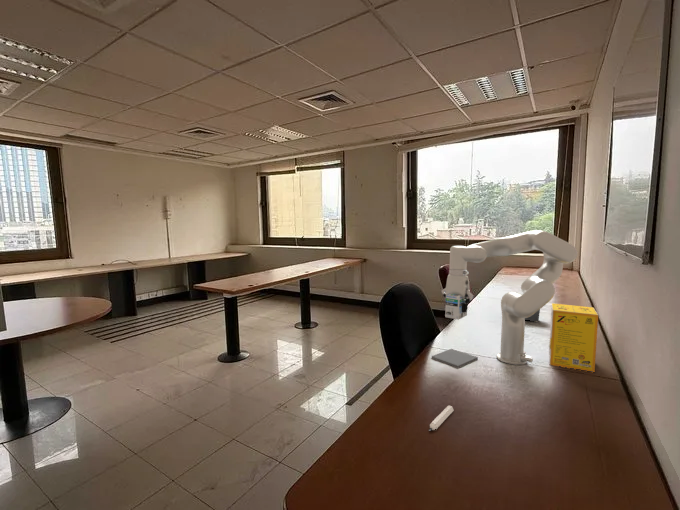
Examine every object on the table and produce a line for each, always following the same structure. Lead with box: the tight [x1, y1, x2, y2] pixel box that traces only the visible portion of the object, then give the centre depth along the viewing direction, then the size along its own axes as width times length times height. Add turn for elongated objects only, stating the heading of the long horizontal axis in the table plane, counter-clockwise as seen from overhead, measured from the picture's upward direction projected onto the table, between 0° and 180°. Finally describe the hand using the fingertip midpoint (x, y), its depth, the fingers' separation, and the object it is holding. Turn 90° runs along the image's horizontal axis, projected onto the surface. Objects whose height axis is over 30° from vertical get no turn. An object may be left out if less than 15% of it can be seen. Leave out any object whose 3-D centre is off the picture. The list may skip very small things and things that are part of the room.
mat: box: [431, 348, 479, 369], centre depth 158 cm, size 14×16×1 cm
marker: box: [428, 405, 455, 432], centre depth 107 cm, size 3×2×16 cm
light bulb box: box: [444, 293, 469, 321], centre depth 157 cm, size 11×7×11 cm, turn 140°
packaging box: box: [548, 303, 599, 373], centre depth 153 cm, size 16×16×25 cm
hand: (456, 309), depth 158 cm, fingers closed on light bulb box, 7 cm apart
